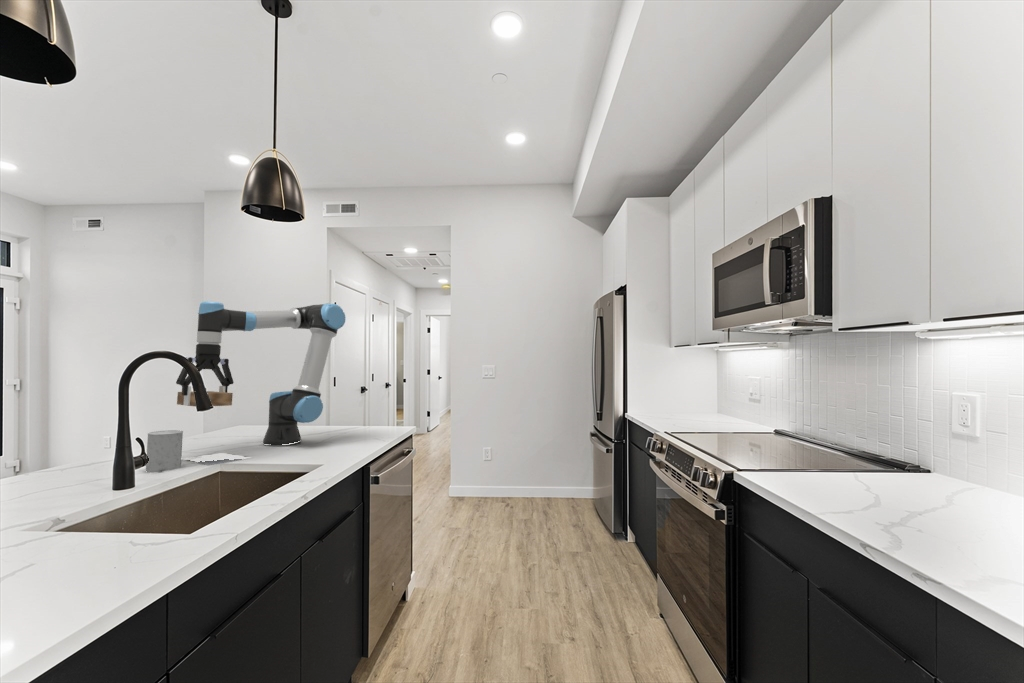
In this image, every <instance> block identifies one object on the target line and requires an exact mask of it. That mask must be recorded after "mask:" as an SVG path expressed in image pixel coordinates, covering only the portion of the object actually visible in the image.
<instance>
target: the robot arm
mask: <svg viewBox="0 0 1024 683" xmlns="http://www.w3.org/2000/svg"><path fill="white" fill-rule="evenodd" d="M197 314H198V317H197V319H198V320H197V331H196V332H197V333H196V343H197V344H196V345H195V357H190V356H188V357H185V358H186V359H188V360H189V361H190V362H192V364H194V363H195V364H196V365H195V366H194V367H196V368H197V369H198V371H199V373H200V372H201V371H202V370H211V371H213V373H214V374H215V376H216V378H217V379H218V381H219V382H220V384H221V385H219V386H218V392H226V393H228V389H229V388H228V387H229V386H230V385H233V384H234V379H233V376H232V371H231V370H230V366H229V361H230V360H229V358H221V350H222V349H221V348H222V346H221V343H222V336H223V332H231V331H234V332H235V331H240V332H241V331H243V332H252V331H254V330H260V329H262V330H264V329H277V328H278V329H280V328H291V329H293V330H297V329H298V330H299V329H301V330H302V329H303V330H305V329H306V330H309V331H310V333H311V336H310V338H309V343H308V347H307V351H306V354H305V358H304V361H303V365H302V369H301V374H300V376H299V380H298V384H297V386H295V387H293V388H292V390H290V391H289V390H288V391H285V390H284V391H278V392H277V391H275V392H271V394H270V395H269V399H268V400H269V401H268V403H269V404H268V405H269V406H268V428H267V429H266V431H265V435H264V437H263V440H262V442H263V443H264V444H271V445H282V444H289V443H294V442H298V441H300V440H301V441H302V437H301V434H300V430H299V427H298V426H299V425H298V423H302V424H305V423H308V424H309V423H312V422H314V421H316V420H317V419H318V418H319V417H320V416H321V415H322V412H323V410H324V404H323V401H322V399H321V396H322V393H321V391H320V389H319V388H320V386H321V381H322V378H323V373H324V369H325V365H326V363H327V357H328V354H329V350H330V347H331V343H332V339H333V338H335V337H336V336H337V334H338V330H339V329H341V328H342V327H343V326H345V323H346V313H345V312H344V310H343V308H342V307H341V306H340V305H339V304H336V303H329V302H328V303H323V304H311V305H307V306H301V307H300V306H299V307H292V308H290V309H288V310H284V309H283V310H258V311H256V310H255V311H241V310H233V309H228V308H225V306H224V303H221V302H218V301H212V300H211V301H208V300H205V301H204V300H203V301H202V302H200V304H199V307H198V312H197ZM219 364H220V365H221V368H222V371H221V368H220V366H219ZM192 382H193V381H191V378H190V376H189V372H187V371H186V370H185V369H184V368H183V367H182V369H181V371H180V373H179V376H178V377H177V379H176V382H175V384H176V385H179V386H181V392H182V395H184V404H183V405H182V406H187V405H190V396H191V392H192V386H190V384H191V383H192ZM263 443H262V444H263Z"/></svg>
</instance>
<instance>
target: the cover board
mask: <svg viewBox="0 0 1024 683" xmlns="http://www.w3.org/2000/svg"><path fill="white" fill-rule="evenodd" d="M194 392H195V391H191V396H190V405H186V406H188V407H196V402H195V395H194ZM207 393H208V395H209V397H210V400H211V403H212V405H213V406H212V407H222V406H223V407H224V406H225V407H226V406H232V405H233V396H234V394H233V392H227V393H226V392H219V391H213V390H211V391H210V390H207ZM183 404H184V395H182V391H177V397H176V405H177V406H178V405H180V406H184V405H183Z"/></svg>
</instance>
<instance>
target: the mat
mask: <svg viewBox="0 0 1024 683" xmlns="http://www.w3.org/2000/svg"><path fill="white" fill-rule="evenodd" d="M241 460H242V459H234V460H229V459H224V460H217V461H214V460H213V461H205V462H202V461H200V462H198V463H197V464H200V465H204V466H214V465H219V464H220V465H221V464H225V463H226V464H227V463H233V462H236V461H241Z"/></svg>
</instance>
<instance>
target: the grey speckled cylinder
mask: <svg viewBox="0 0 1024 683" xmlns="http://www.w3.org/2000/svg"><path fill="white" fill-rule="evenodd" d="M183 433H184V430H177V429H176V430H175V429H174V430H173V429H172V430H167V429H166V430H157V431H155V430H154V431H151V432H150V431H149V432H147V441H146V443H147V447H146V457H147V456H148V458H149V461H148V463H147V464H146V463H145V465H146V466H145V470H146V471H147V472H146V471H145V472H146V473H150V472H158V473H164V472H166V471H172V470H176V469H180V468H181V467H182V460H181V458H183V456H182V452H183V439H184V438H183V436H184V435H183Z"/></svg>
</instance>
